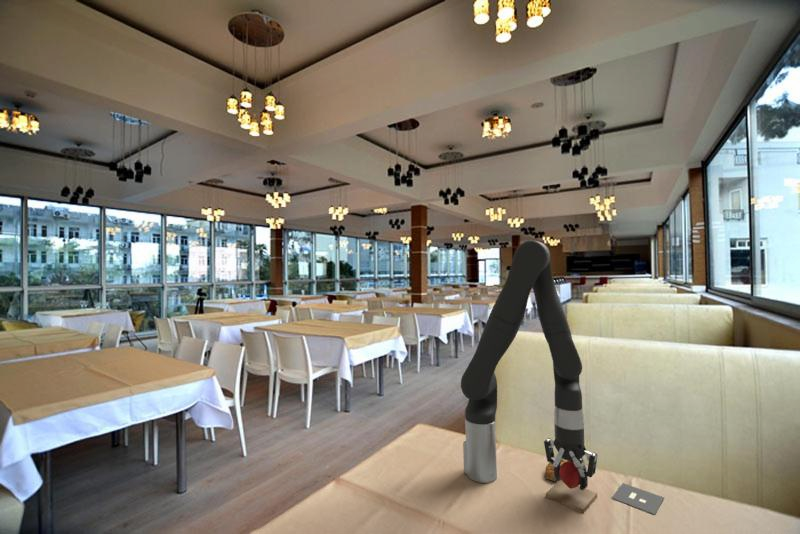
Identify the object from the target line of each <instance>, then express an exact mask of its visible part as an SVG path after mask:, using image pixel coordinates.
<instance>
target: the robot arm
mask: <svg viewBox="0 0 800 534" xmlns="http://www.w3.org/2000/svg"><path fill="white" fill-rule="evenodd" d="M554 280H555V279H554V275H553V271H552V264H551V252H550V249H549V248H548V246H547V245H546V244H544V243H542V242H540V241H537V240H525V241H524V242H522V243H520V244H519V245H518V246H517V248H516V249H515V251H514V254H513V257H512V261H511V264H510V268H509V272H508V273H507V277H506V280H505V283H504V285H503V286H502V288H501V290H500V292H499V294H498V296H497V298H496V300H495V303H494V304H493V306H492V308H491V311H490V313H489V315H488V318H487V321H486V323H485V326H484V329H483V331H482V333H481V336H480V339H479V342H478V344H477V347H476V350H475V353H474V354H473V357H472V358H471V360H470V362H469V364H468V365H467V367H466V368H465V370H464V372H463V374H462V376H461V378H460V388H461V392H462V394H463V395H464V397H465V398H467V399H468V402H467V404H466V407H465V409H464V419H465V420H464V423H465V424H464V425H465V427H464V429H465V441H463V443H462V445H463V446H462V448H463V449H462V450H463V451H462V452H463V473H464V474H466V476H467V478H468V479H469V480H471V481H474V482H477V483H484V484H486V483H487V484H488V483H491V482H494V481H496V479H497V478H498V469H497V436H496V435H497V433H496V431H497V430H496V429H497V428H496V427H497V426H496V425H497V424H496V414H497V411H498V410H497V409H498V380H497V377H496V374H495V371H496V368H497V366H498V364H499V362H500V361H501V359H502V358H503V356H504V355H505V354H506V353H507V350H509V348H510V346H511V345H512V343H513V342H514V340H515V338H516V336H517V334H518V331H519V330H520V328H521V325H522V323H523V320H524V318H525V314H526V311H527V310H526V309H527V305H528V300H529V297H530V295H531V291H533V294H534V300H535V305H536V309H537V310H536V311H537V314H538V315H537V316H538V318H539V319H538V320H539V323H540V326H541V329H542V332H543V335H544V338H545V340H546V342H547V345H548V348H549V351H550V355H551V359H552V367H553V379H554V412H553V415H554V420H553V421H554V423H553V424H554V439H552V438H550V437H547V439H545V440H544V441H543V444H544V451H545V456H546V461H547V462H548V464H549V463H550V462H551V463H552V464H553V465H554V476H555V477H556V480H558V481H560V480H561V478H560V475H559V469H560V467H561V465H560V464H561V462H562V460H565V461H567V460H569V461H571V462H573V463H574V464H575V466H576V468H577V469H578V471H579V473H580V476H579V477H580V485H579V486H580V490H584V489H587V488H588V485H589V484H588V482H589V481H588V477H589V478H592V477H593V476H594V475H595V474H596V470H597V462H598V454H597V452H591V451H588V450H587V449H586V447H585V420H584V418H585V417H584V412H583V411H584V410H583V395H582V389H581V386H580V376H581V374H582V371H583V363H582V360H581V357H580V355H579V352H578V349H577V347H576V345H575V342H574V340H573V337H572V336H573V335H572V332H571V328H570V325H569V322H568V320H567V316H566V313H565V311H564V308H563V305H562V302H561V300H560V297H559V295H558V291H557V287H556V284H555V281H554ZM532 289H533V290H532ZM554 448H555V450H556V451H557V454H556V455H555V453H554V452H555V451H554ZM584 456H585V457H586V460H587V461H588V465H587V466H586V462H585V459H584Z"/></svg>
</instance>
